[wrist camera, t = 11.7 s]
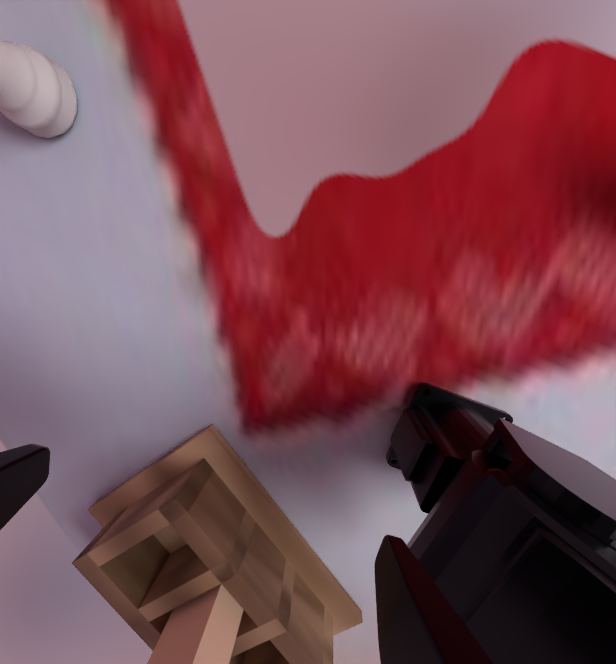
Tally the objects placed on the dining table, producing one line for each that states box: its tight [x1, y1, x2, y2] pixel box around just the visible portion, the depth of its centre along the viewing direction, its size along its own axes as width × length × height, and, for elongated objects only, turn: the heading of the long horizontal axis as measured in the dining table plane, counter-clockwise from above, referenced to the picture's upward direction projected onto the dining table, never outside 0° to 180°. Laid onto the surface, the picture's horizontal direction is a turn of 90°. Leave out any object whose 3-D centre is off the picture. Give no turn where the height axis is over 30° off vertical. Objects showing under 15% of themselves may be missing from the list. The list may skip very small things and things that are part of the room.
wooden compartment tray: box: [72, 424, 362, 664], centre depth 22 cm, size 13×20×5 cm, turn 36°
